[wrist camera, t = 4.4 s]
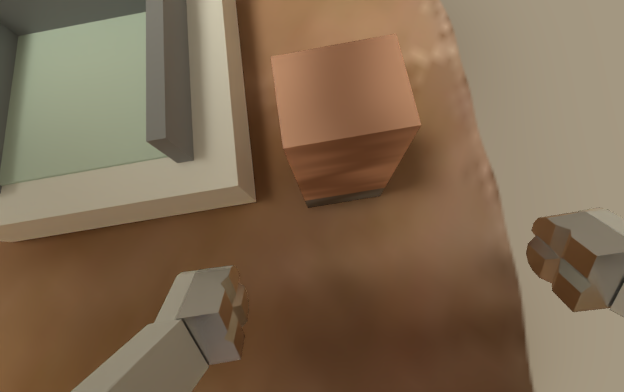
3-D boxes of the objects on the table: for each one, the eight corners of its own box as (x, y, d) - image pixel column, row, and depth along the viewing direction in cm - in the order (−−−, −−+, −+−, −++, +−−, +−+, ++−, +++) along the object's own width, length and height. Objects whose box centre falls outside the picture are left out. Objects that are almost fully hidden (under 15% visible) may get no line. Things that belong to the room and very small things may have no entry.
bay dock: (11, 242, 21) (-139, 228, 15) (35, 38, 26) (-70, -44, 19) (256, 201, 21) (217, 167, 14) (235, 0, 25) (199, -99, 19)
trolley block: (307, 207, 20) (282, 148, 11) (299, 154, 21) (270, 56, 12) (380, 195, 20) (421, 124, 10) (368, 142, 21) (396, 33, 12)
